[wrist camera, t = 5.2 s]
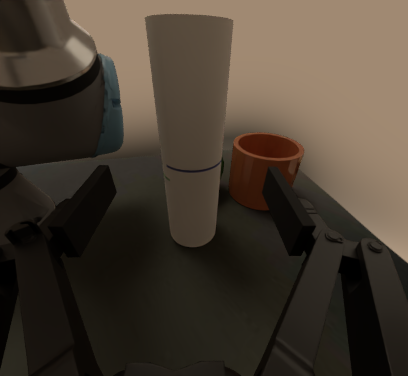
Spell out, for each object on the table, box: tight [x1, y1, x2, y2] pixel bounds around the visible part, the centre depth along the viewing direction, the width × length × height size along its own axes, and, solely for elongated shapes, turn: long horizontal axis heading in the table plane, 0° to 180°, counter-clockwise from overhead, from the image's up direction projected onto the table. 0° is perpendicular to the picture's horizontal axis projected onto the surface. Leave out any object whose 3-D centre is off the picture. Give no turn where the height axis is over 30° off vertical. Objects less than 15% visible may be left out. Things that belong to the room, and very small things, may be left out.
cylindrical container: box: [145, 14, 233, 247], centre depth 23 cm, size 7×7×25 cm
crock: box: [228, 132, 304, 210], centre depth 36 cm, size 12×12×10 cm
